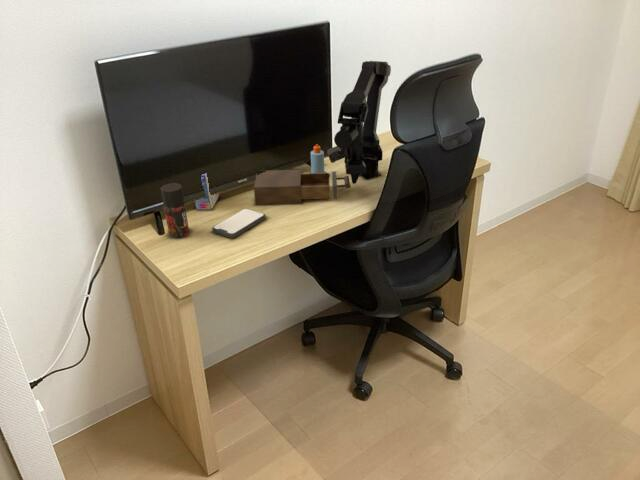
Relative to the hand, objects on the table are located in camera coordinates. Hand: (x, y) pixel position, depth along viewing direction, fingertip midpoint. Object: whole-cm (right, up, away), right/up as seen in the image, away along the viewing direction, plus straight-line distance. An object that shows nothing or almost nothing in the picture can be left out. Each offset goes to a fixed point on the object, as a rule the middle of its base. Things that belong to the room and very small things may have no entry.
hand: (354, 183), depth 190 cm
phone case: (-36, -14, -15) cm, 41 cm away
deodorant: (-53, -17, -19) cm, 59 cm away
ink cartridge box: (-48, -7, -1) cm, 49 cm away
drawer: (-10, -3, +1) cm, 11 cm away
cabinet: (-25, -4, +2) cm, 25 cm away
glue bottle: (-12, +4, +15) cm, 19 cm away
